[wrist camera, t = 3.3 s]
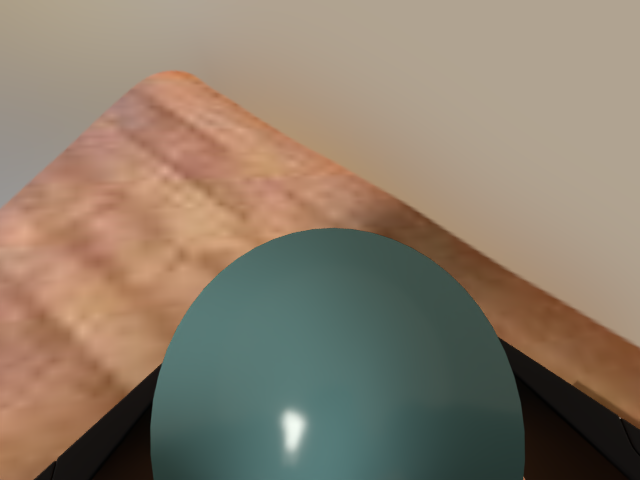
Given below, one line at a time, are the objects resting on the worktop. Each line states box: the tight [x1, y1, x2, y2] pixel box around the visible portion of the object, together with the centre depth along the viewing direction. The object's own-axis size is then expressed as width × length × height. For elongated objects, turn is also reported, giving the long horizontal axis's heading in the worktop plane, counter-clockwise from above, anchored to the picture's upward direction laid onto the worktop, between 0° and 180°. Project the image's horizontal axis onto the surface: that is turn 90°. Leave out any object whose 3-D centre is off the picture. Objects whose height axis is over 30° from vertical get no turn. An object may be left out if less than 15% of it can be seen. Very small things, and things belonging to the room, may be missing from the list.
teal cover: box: [150, 228, 525, 480], centre depth 10 cm, size 7×7×11 cm
